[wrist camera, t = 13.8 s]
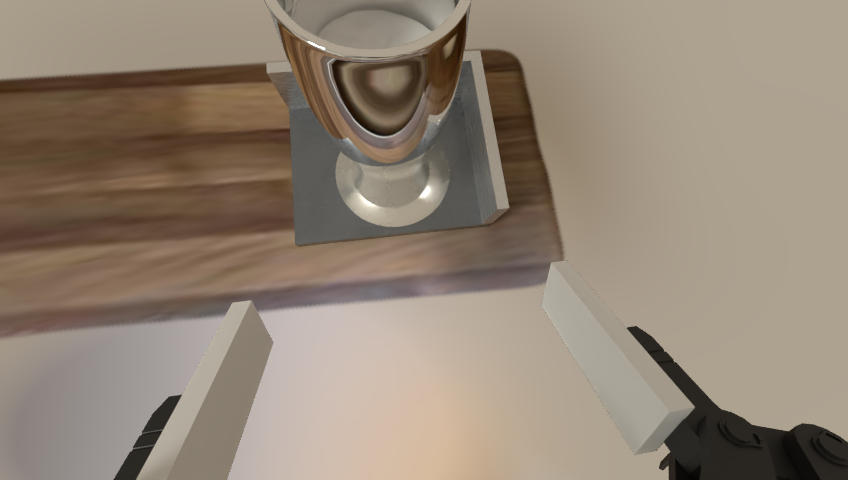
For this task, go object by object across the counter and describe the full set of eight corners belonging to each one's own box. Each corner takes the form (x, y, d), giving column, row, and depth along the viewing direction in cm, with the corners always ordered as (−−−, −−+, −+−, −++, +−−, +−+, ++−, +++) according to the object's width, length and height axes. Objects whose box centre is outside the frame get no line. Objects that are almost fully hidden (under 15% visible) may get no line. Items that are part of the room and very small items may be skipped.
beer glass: (401, 231, 23) (395, 108, 8) (328, 181, 23) (194, -23, 8) (451, 162, 24) (524, -50, 9) (381, 116, 25) (345, -157, 10)
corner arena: (299, 246, 23) (271, 232, 18) (292, 107, 25) (266, 62, 20) (489, 225, 24) (509, 208, 20) (466, 94, 26) (480, 50, 22)
